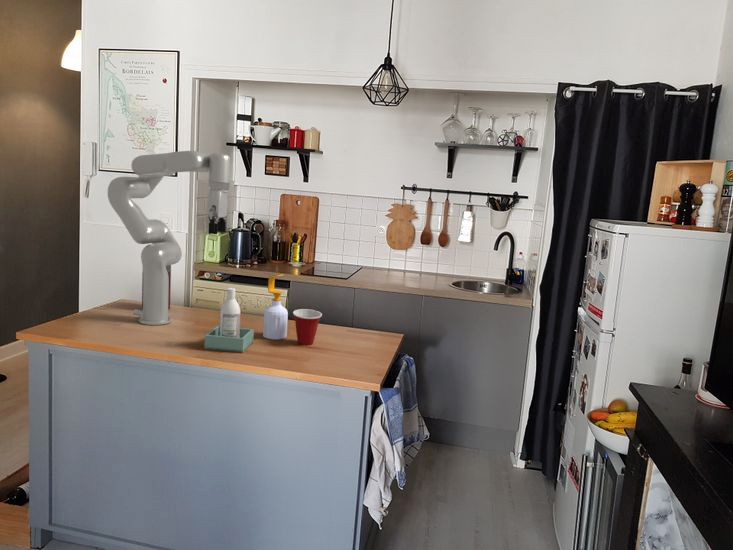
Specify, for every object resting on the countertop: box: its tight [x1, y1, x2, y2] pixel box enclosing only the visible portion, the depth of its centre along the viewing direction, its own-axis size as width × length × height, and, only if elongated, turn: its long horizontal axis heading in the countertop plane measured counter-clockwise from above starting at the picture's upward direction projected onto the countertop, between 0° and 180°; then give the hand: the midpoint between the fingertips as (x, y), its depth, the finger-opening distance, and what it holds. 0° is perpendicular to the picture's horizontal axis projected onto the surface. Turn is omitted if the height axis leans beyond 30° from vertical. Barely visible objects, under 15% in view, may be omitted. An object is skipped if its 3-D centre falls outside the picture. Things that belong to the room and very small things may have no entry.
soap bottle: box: [262, 273, 289, 341], centre depth 222 cm, size 9×9×25 cm
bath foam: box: [219, 287, 241, 338], centre depth 206 cm, size 7×7×20 cm
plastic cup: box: [292, 308, 323, 346], centre depth 217 cm, size 11×11×12 cm
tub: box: [203, 325, 255, 354], centre depth 208 cm, size 14×14×5 cm
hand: (217, 232), depth 219 cm, fingers open, 9 cm apart
